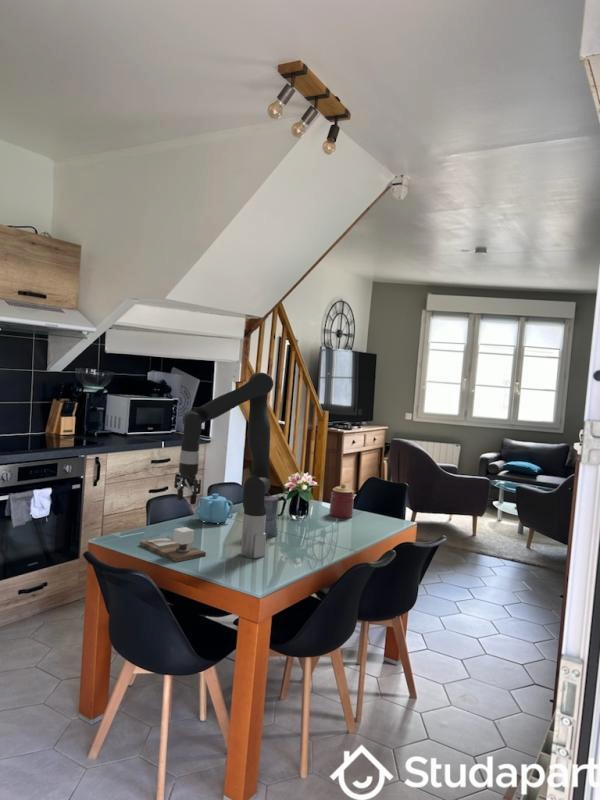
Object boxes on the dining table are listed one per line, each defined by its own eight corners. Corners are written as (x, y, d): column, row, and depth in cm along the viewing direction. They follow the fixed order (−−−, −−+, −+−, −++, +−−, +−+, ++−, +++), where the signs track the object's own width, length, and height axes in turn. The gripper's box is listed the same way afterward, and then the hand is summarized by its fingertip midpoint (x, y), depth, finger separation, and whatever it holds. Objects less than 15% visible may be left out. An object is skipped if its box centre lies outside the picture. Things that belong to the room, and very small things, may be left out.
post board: (205, 555, 245) (207, 532, 244) (176, 562, 234) (178, 537, 234) (168, 539, 262) (169, 518, 262) (139, 545, 252) (141, 522, 252)
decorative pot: (193, 517, 304) (194, 490, 303) (223, 516, 310) (225, 490, 310) (201, 526, 289) (203, 498, 288) (234, 524, 296) (236, 497, 295)
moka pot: (249, 532, 284) (252, 490, 283) (279, 531, 291) (282, 489, 290) (257, 538, 275) (260, 495, 274) (287, 536, 282) (291, 494, 281)
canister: (356, 518, 329) (358, 486, 328) (333, 518, 325) (336, 485, 324) (347, 512, 341) (350, 481, 340) (326, 512, 338) (328, 481, 337)
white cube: (193, 542, 243) (194, 530, 243) (181, 544, 239) (182, 532, 239) (184, 539, 247) (185, 527, 247) (173, 541, 243) (174, 528, 243)
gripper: (207, 464, 240) (204, 504, 240) (186, 458, 249) (183, 497, 250) (192, 465, 234) (189, 506, 235) (170, 459, 244) (168, 499, 245)
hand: (186, 501), depth 243 cm, fingers open, 8 cm apart
